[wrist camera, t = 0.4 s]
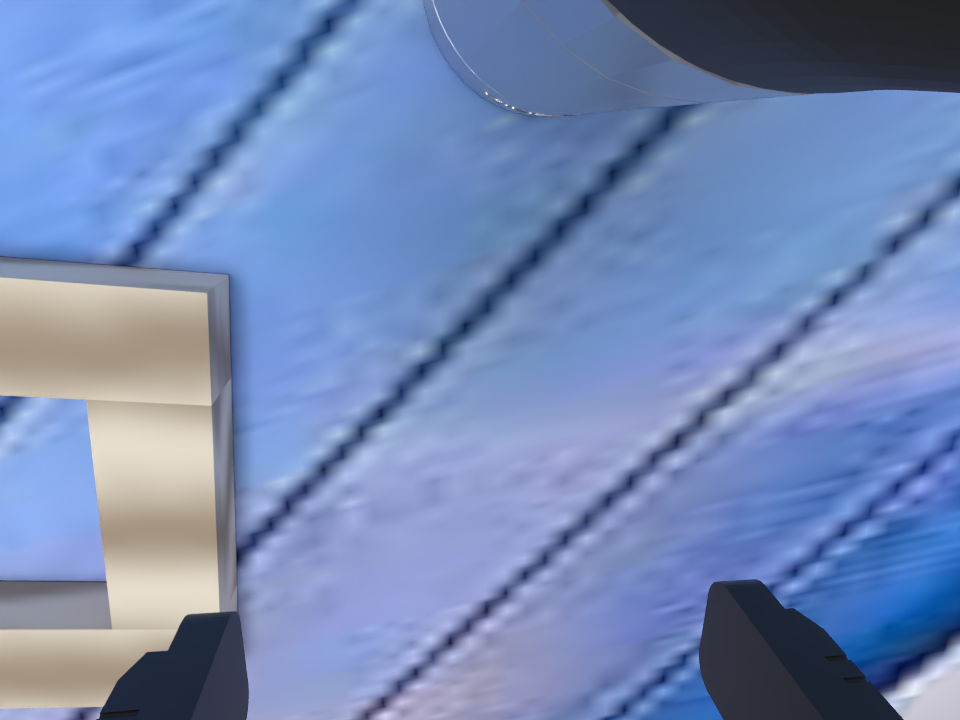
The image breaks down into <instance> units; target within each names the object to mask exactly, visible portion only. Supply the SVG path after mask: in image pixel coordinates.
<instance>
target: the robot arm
mask: <svg viewBox="0 0 960 720" xmlns="http://www.w3.org/2000/svg"><path fill="white" fill-rule="evenodd" d="M424 8H425V11H426V14H427V18H428V21H429V24H430V28H431V31H432V34H433V37H434V39H435V40H436V42H437V44H438V46H439V48H440V50H441V52H442V54H443V56H444V58H445V60H446V61H447V62H448V64H449V65H450V66H451V67H452V69H453V70H454V71H455V72H456V74H457V75H458V76H459V77H460V79H461V80H462V81H463V82H464V83H465V84H466V85H468V86H469V87H470V88H471V89H472V90H474V91H475V92H476V93H477V94H479V95H480V96H481V97H482V98H484V99H486V100H488V101H490V102H492V103H494V104H496V105H497V106H499V107H501V108H503V109H505V110H509V111H513V112H517V113H521V114H526V115H534V116H545V117H554V116H555V117H560V116H570V115H577V114H584V113H595V112H607V111H619V110H630V109H642V108H653V107H665V106H677V105H688V104H700V103H710V102H722V101H734V100H746V99H758V98H770V97H782V96H794V95H805V94H815V93H841V92H855V91H869V90H918V91H938V92H955V93H960V0H424ZM699 663H700V670H701V674H702V678H703V681H704V684H705V687H706V689H707V691H708V693H709V695H710V697H711V698H712V700H713V702H714V704H715V705H716V707H717V709H718V711H719V713H720V714H721V716H722V718H723V720H903V719H902V717H901V716H900V715H899V714H898V713H897V712H896V711H895V709H894V708H893V707H892V706H891V705H890V704H889V703H888V701H887V700H886V699H885V698H884V697H883V696H882V695H881V694H880V692H879V691H878V690H877V689H876V688H875V687H874V686H873V684H872V683H871V682H867V681H866V679H865V675H864V674H863V673H862V672H861V671H860V670H859V669H858V667H857V666H856V665H855V664H854V663H853V662H852V661H851V660H848V659H847V657H846V654H845V653H844V652H843V650H842V649H841V648H840V647H839V646H838V645H837V644H836V642H835V641H834V640H833V639H832V638H831V637H830V636H829V635H828V633H827V632H826V631H825V630H824V629H823V628H821V627H820V626H818V625H817V624H816V623H814V622H813V621H811V620H810V619H808V618H807V617H805V616H804V615H803V614H801V613H800V612H798V611H797V610H795V609H794V608H790V609H785V608H784V607H783V606H782V605H781V604H780V603H779V601H778V600H777V599H776V598H775V597H774V595H773V594H772V593H771V592H770V591H769V589H768V588H767V587H766V586H765V585H764V584H763V583H762V582H761V581H759V580H756V579H752V580H737V581H721V582H714V583H713V584H712V585H711V587H710V589H709V593H708V599H707V606H706V612H705V618H704V624H703V630H702V637H701V643H700V649H699ZM248 699H249V688H248V678H247V670H246V662H245V654H244V647H243V639H242V631H241V623H240V618H239V615H238V613H237V612H236V611H230V612H214V613H199V614H188V615H186V616H185V617H184V618H183V620H182V622H181V624H180V626H179V628H178V630H177V632H176V634H175V636H174V639H173V641H172V643H171V645H170V647H169V649H168V651H155V652H146V653H145V654H144V655H143V656H142V657H141V658H140V659H139V660H138V661H137V662H136V663H135V664H134V665H133V666H132V667H131V668H130V669H129V670H128V671H127V672H126V673H125V674H124V675H123V676H122V677H121V678H120V679H119V680H118V681H117V683H116V684H115V686H114V688H113V690H112V692H111V694H110V695H109V697H108V699H107V701H106V703H105V705H104V706H103V708H102V710H101V712H100V718H99V719H96V720H246V718H247V711H248Z"/></svg>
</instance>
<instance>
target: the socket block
mask: <svg viewBox="0 0 960 720" xmlns="http://www.w3.org/2000/svg"><path fill="white" fill-rule="evenodd" d="M0 395H5V396H25V397H45V398H65V399H85V400H86V404H87V413H88V422H89V431H90V439H91V448H92V457H93V466H94V474H95V483H96V492H97V501H98V509H99V518H100V527H101V536H102V545H103V553H104V562H105V571H106V580H107V582H32V581H0V709H1V708H58V707H103V706H104V705H105V703H106V701H107V699H108V697H109V695H110V694H111V692H112V690H113V688H114V686H115V684H116V683H117V681H118V680H119V679H120V678H121V677H122V676H123V675H124V674H125V673H126V672H127V671H128V670H129V669H130V668H131V667H132V666H133V665H134V664H135V663H136V662H137V661H138V660H139V659H140V658H141V657H142V656H143V655H144V654H145V653H146V652H155V651H168V649H169V647H170V645H171V643H172V641H173V639H174V636H175V634H176V632H177V630H178V628H179V626H180V624H181V622H182V620H183V618H184V617H185V616H186V615H188V614H199V613H214V612H230V611H236V612H237V613H238V603H237V566H236V529H235V491H234V454H233V416H232V379H231V342H230V304H229V275H225V274H212V273H200V272H187V271H175V270H163V269H150V268H138V267H125V266H113V265H100V264H88V263H76V262H63V261H51V260H38V259H26V258H13V257H1V256H0Z"/></svg>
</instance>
